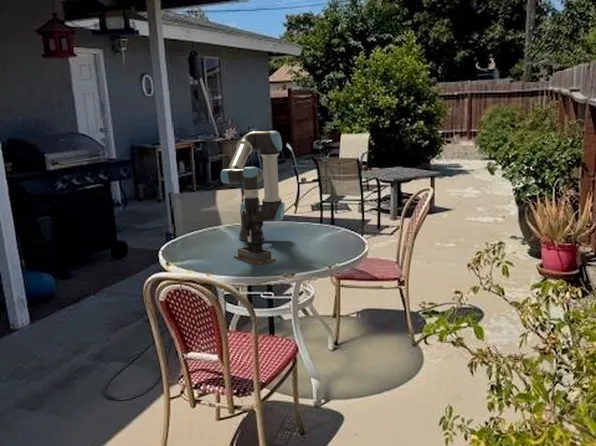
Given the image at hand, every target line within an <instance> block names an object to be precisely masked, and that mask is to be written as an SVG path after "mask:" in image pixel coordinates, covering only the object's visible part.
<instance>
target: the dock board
mask: <svg viewBox="0 0 596 446" xmlns="http://www.w3.org/2000/svg"><path fill="white" fill-rule="evenodd" d="M233 256H234V258H235V259H238V260H241V261H244V262H246V263H250V264H253V265H254V266H255V265H256V266H259V265H263V264H267V263H271V262H274V261H275V262H276V260H277V259H276V258H274V257H272V256H271V259H268V260H264V261H260V262H256V261H253V260H250V259H247V258H244V257H241V256H238V254H235V255H233Z"/></svg>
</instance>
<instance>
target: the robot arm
mask: <svg viewBox="0 0 596 446" xmlns="http://www.w3.org/2000/svg"><path fill="white" fill-rule="evenodd" d="M282 149H283V141H282V136H281V134H280V132H278V131H277V130H257V131H256V130H254V131H250V132H248V133H246V134H244V135H243V136H242V137H241V138H240V139H239V140H238V141H237V144H236V149H235V152H234V155H233V156H232V159H231V161H230V163H229V166H228V167H227V168H225V169H222V170H221V172H220V180H221V183H222V184H229V185H230V184H243V197H244V199H243V202H241V204H240V205H239V206H240V208H239V211H240V225H241V227H240V231H239V234H238V239H239V240H240V241H244V242H247V243H248V242H252V235H251V230H250V224H251V222H252V221H256V220H258V222H259V223H260V224H259V227H260V232H262V234H261V239H262V240H263V239H264V235H265V234H264V231H263V229H262V227H264V222H268V223H269V222H271V223H272V222H273V223H275V222H281V221H282V220H283V218H284V214H285V207H286V205H285V202H284V201H282V198H281V197H280V196H279V193H280V191H279V172H278V171H279V170H278V156H279V155H280V152H281V151H283V150H282ZM252 152H259V155H260V156H261V157H262V169H260V168H259V167H256V166H246V167H245V165H246V162H247V160H248V158H249V155H250V154H252ZM262 180H263V189H264V190H263V191H264V194H263V195H264V197H263V198H262V199H261V202H260V197H259V194H260V193H259V183H260V182H261V181H262ZM244 229H246V230H244ZM246 236H248V240H247V237H246Z"/></svg>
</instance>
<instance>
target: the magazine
mask: <svg viewBox="0 0 596 446" xmlns="http://www.w3.org/2000/svg"><path fill="white" fill-rule="evenodd" d="M259 224H260V223H259V222H258V220H256V221H252V222H251V224H250V230H251V235H252V242H248V241H247V242H246V244H247V246H248V247H250V248H253V249H255V250H257V251H258V250H262V249H263V246H264V242H263V239H261V234H262V232H260V227H259ZM244 230H246V229H244ZM246 237H247V240H248V236H246Z"/></svg>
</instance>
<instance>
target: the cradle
mask: <svg viewBox="0 0 596 446" xmlns="http://www.w3.org/2000/svg"><path fill="white" fill-rule="evenodd" d="M237 255H238V256H241V257H244V258H247V259H250V260H253V261H256V262H260V261H264V260H268V259H271V257H272V251H271V250H268V249H266V248H262V250H258V251H257V250H255V249H253V248H250V247H248V245H247V246H246V245H245V246H242V247H238V248H237Z"/></svg>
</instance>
